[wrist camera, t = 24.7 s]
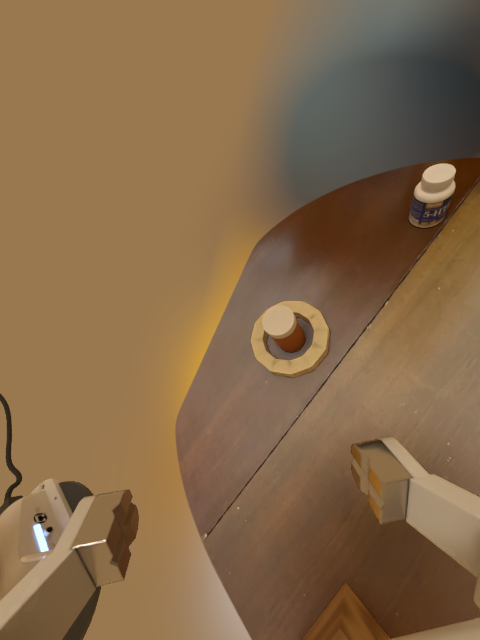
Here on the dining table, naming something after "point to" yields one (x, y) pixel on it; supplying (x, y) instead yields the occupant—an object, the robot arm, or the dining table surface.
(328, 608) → the block stand
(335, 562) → the dining table surface
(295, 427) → the dining table surface
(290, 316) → the amber bottle
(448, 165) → the pill bottle
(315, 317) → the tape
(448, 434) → the dining table surface
